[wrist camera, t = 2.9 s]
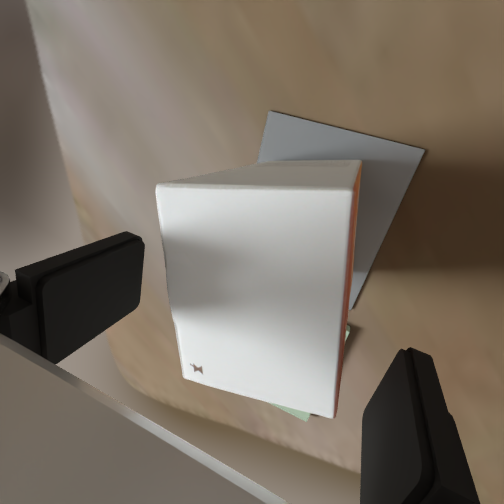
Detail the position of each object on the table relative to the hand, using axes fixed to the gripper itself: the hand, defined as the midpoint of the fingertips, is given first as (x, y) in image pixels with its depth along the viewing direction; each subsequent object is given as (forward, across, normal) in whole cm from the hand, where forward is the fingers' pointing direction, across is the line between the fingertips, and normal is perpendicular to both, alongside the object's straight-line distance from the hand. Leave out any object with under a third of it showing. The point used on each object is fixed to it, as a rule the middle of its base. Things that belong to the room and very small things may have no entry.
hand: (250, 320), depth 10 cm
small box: (+13, 0, -1) cm, 13 cm away
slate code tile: (+13, 0, -1) cm, 13 cm away
